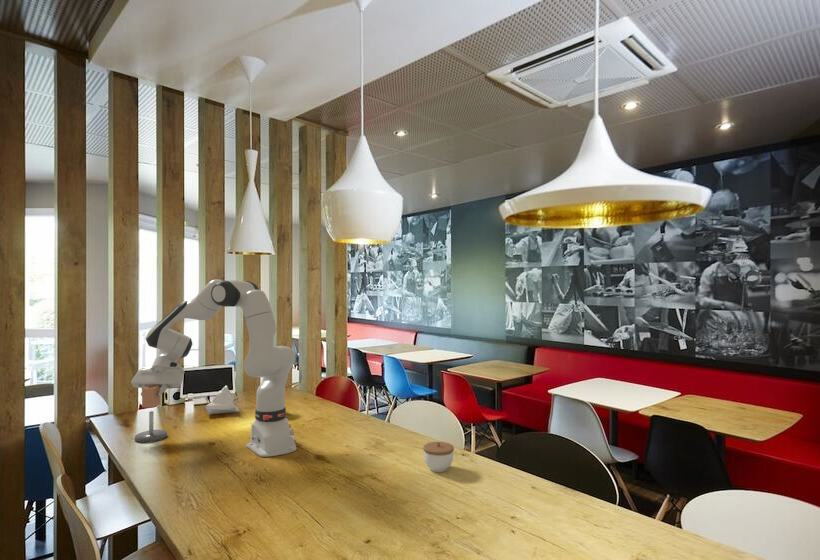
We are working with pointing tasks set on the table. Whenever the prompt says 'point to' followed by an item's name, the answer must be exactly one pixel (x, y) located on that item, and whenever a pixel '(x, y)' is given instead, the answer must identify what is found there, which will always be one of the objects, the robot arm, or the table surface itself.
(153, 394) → the collar
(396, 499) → the table surface
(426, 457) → the lidded jar
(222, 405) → the white irregular peaked block
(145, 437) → the stand
